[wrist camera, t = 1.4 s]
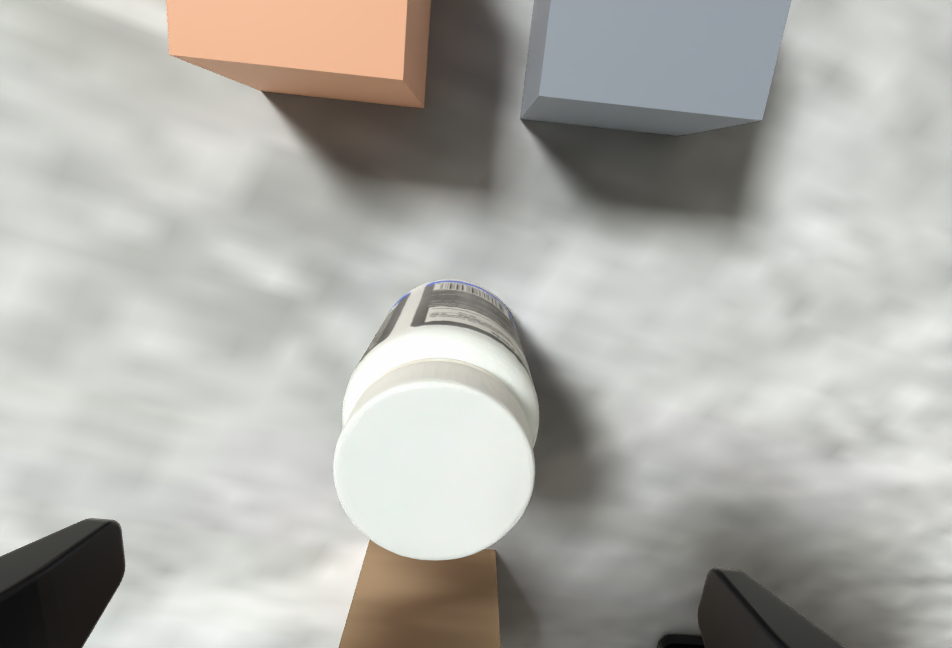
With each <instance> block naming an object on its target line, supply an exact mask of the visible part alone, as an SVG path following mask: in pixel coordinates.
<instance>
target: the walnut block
mask: <svg viewBox="0 0 952 648" xmlns="http://www.w3.org/2000/svg"><path fill="white" fill-rule="evenodd" d="M339 648H501V644H500V625H499V606H498V587H497V568H496V550H487V549H483V550H481V551H479V552H477V553H475V554H472V555H469V556H466V557H462V558H457V559H451V560H419V559H413V558H409V557H405V556H401V555H398V554H395V553H393V552H391V551H389V550H387V549H385V548H383V547H381V546H379V545H377V544H376V543H374V542H373V541H372V540H370V541H369V544H368V548H367V551H366V555H365V558H364V562H363V565H362V569H361V572H360V575H359V579H358V582H357V586H356V589H355V593H354V596H353V600H352V603H351V607H350V610H349V614H348V617H347V620H346V624H345V627H344V631H343V634H342V638H341V641H340V645H339Z"/></svg>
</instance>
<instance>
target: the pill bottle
mask: <svg viewBox="0 0 952 648" xmlns="http://www.w3.org/2000/svg"><path fill="white" fill-rule="evenodd" d="M342 424H343V430H342V432H341V435H340V437H339V439H338V442H337V445H336V449H335V454H334V463H333V474H334V483H335V488H336V492H337V495H338V498H339V500H340V503H341V505H342V507H343V509H344V510H345V512H346V514H347V515H348V517H349V519H350V520H351V521H352V522H353V524H354V525H355V526H356V527H357V528H358V529H359V530H360V531H361V532H362V533H363V534H364V535H365V536H366V537H368V538H369V539H370V540H372V541H373V542H374V543H376V544H377V545H379V546H381V547H383V548H385V549H387V550H389V551H391V552H393V553H395V554H398V555H401V556H405V557H409V558H413V559H419V560H451V559H457V558H462V557H466V556H469V555H472V554H475V553H477V552H479V551H481V550H483V549H485V548H487V547H489V546H491V545H493V544H494V543H496V542H497V541H499V540H500V539H501V538H502V537H504V536H505V535H506V534H507V533H508V532H509V531H510V530H511V529H512V528H513V527H514V526H515V525H516V523H517V522H518V521H519V519H520V518H521V516H522V515H523V514H524V512H525V510H526V508H527V506H528V504H529V502H530V499H531V496H532V492H533V488H534V481H535V459H534V453H533V448H534V445H535V442H536V438H537V434H538V428H539V404H538V399H537V394H536V390H535V387H534V384H533V380H532V377H531V374H530V370H529V367H528V364H527V361H526V357H525V354H524V351H523V348H522V345H521V342H520V338H519V335H518V331H517V328H516V325H515V323H514V320H513V318H512V316H511V314H510V313H509V311H508V310H507V308H506V307H505V305H504V304H503V303H502V302H501V301H500V300H499V299H498V298H497V297H496V296H495V295H494V294H493V293H491V292H490V291H488V290H486V289H485V288H483V287H481V286H479V285H477V284H474V283H472V282H468V281H464V280H458V279H443V280H436V281H432V282H429V283H425V284H423V285H420V286H418V287H416V288H414V289H413V290H411V291H409V292H408V293H406V294H405V295H404V296H403V297H402V298H401V299H400V300H399V301H398V302H397V303H396V304H395V305H394V307H393V308H392V309H391V310H390V312H389V313H388V315H387V317H386V319H385V320H384V322H383V324H382V326H381V327H380V329H379V331H378V332H377V334H376V335H375V337H374V339H373V340H372V342H371V344H370V346H369V347H368V349H367V351H366V352H365V354H364V355H363V357H362V359H361V360H360V362H359V364H358V365H357V367H356V368H355V370H354V372H353V374H352V376H351V378H350V381H349V384H348V387H347V390H346V393H345V397H344V402H343V410H342Z"/></svg>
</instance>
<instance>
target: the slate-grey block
mask: <svg viewBox="0 0 952 648" xmlns="http://www.w3.org/2000/svg"><path fill="white" fill-rule="evenodd" d="M790 3H791V0H534V6H533V14H532V23H531V31H530V40H529V48H528V57H527V65H526V74H525V82H524V91H523V99H522V108H521V117H520V119H527V120H536V121H545V122H554V123H563V124H572V125H581V126H591V127H600V128H609V129H618V130H627V131H636V132H645V133H654V134H664V135H673V136H682V135H687V134H692V133H698V132H703V131H708V130H714V129H719V128H725V127H730V126H735V125H741V124H746V123H752V122H757V121H762V120H763V116H764V111H765V107H766V103H767V99H768V95H769V91H770V87H771V82H772V78H773V74H774V70H775V66H776V62H777V57H778V53H779V49H780V45H781V41H782V37H783V33H784V28H785V24H786V20H787V16H788V12H789V8H790Z"/></svg>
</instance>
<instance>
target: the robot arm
mask: <svg viewBox="0 0 952 648" xmlns="http://www.w3.org/2000/svg"><path fill="white" fill-rule="evenodd" d="M124 572H125V556H124V548H123V539H122V530H121V526H120V524H119V523H118V522H117V521H115V520H108V519H95V518H90V519H85V520H83V521H80V522H78V523H76V524H73V525H71V526H69V527H67V528H64V529H62V530H60V531H57V532H55V533H53V534H51V535H48V536H46V537H44V538H42V539H39V540H37V541H35V542H32V543H30V544H28V545H26V546H23V547H21V548H19V549H16V550H14V551H12V552H10V553H7V554H5V555H3V556H0V648H82V647H83V646H84V644H85V642H86V641H87V639H88V637H89V636H90V634H91V632H92V630H93V629H94V627H95V625H96V624H97V622H98V620H99V619H100V617H101V615H102V614H103V612H104V610H105V609H106V607H107V605H108V603H109V602H110V600H111V598H112V597H113V595H114V593H115V592H116V590H117V588H118V587H119V585H120V583H121V581H122V578H123V576H124ZM698 623H699V628H700V631H701V635H702V637H695V636H683V635H667V636H664V637H663V638H661V639H660V641H659V643H658V646H657V648H845V647H844V646H842V645H841V644H840V643H838V642H837V641H836V640H834V639H833V638H832V637H830V636H829V635H827V634H826V633H825V632H823V631H822V630H821V629H819V628H818V627H817V626H815V625H814V624H812V623H811V622H810V621H808V620H807V619H806V618H804V617H803V616H802V615H800V614H799V613H797V612H796V611H795V610H793V609H792V608H791V607H789V606H788V605H787V604H785V603H784V602H783V601H781V600H780V599H778V598H777V597H776V596H774V595H773V594H772V593H770V592H769V591H768V590H766V589H765V588H763V587H762V586H761V585H759V584H758V583H757V582H755V581H754V580H753V579H751V578H750V577H748V576H747V575H746V574H744V573H743V572H741V571H740V570H737V569H729V568H712V569H711V570H710V571H709V572H708V575H707V578H706V581H705V585H704V589H703V593H702V596H701V600H700V604H699V608H698Z"/></svg>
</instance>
